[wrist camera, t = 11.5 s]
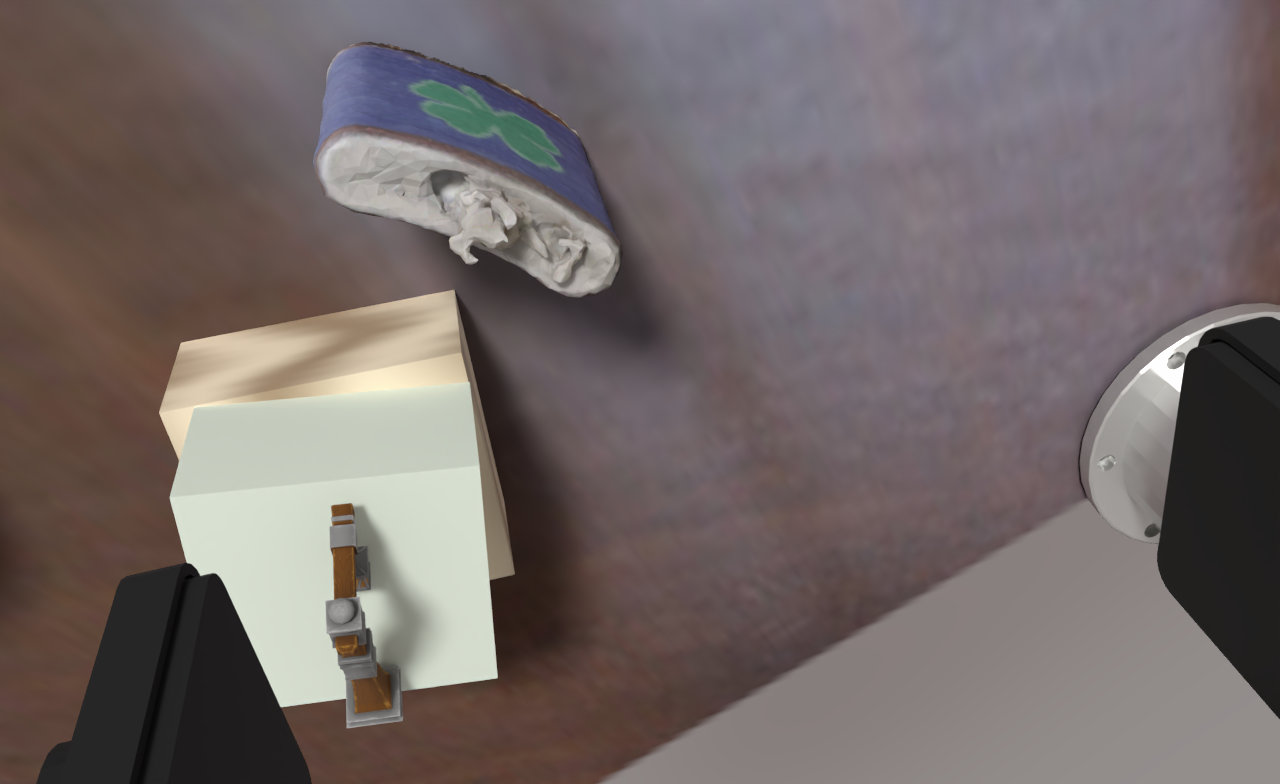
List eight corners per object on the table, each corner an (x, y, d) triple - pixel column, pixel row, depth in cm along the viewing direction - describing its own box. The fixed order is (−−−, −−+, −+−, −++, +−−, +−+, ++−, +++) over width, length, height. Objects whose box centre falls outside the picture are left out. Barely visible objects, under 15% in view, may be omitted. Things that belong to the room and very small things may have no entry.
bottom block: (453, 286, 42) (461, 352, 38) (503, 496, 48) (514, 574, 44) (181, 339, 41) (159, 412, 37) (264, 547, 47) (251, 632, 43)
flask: (316, 95, 38) (296, 221, 29) (348, 12, 36) (337, 118, 28) (566, 200, 41) (617, 341, 32) (602, 127, 40) (666, 254, 31)
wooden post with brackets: (369, 485, 33) (374, 630, 31) (397, 599, 40) (403, 726, 37) (306, 491, 33) (305, 638, 30) (344, 605, 39) (346, 734, 37)
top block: (470, 382, 39) (479, 465, 35) (487, 583, 44) (497, 678, 39) (194, 407, 37) (169, 497, 33) (242, 612, 42) (227, 714, 38)
